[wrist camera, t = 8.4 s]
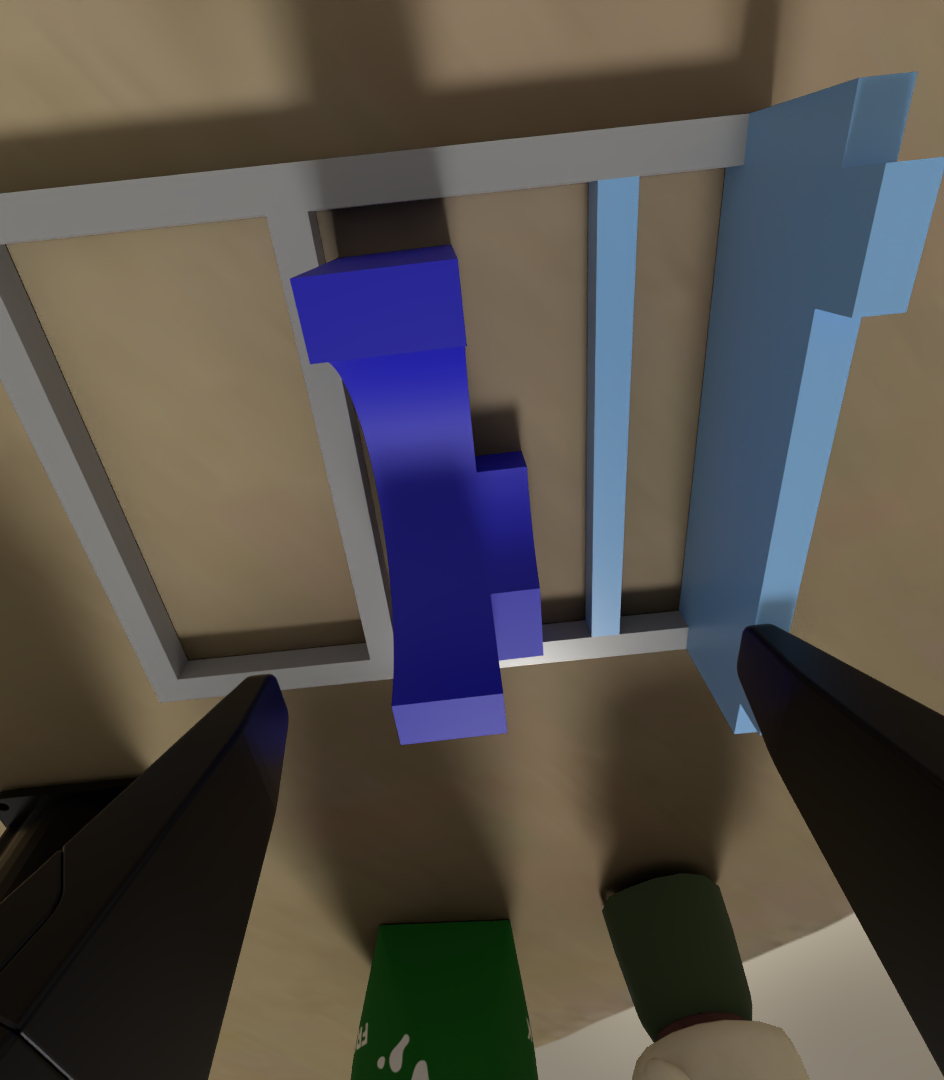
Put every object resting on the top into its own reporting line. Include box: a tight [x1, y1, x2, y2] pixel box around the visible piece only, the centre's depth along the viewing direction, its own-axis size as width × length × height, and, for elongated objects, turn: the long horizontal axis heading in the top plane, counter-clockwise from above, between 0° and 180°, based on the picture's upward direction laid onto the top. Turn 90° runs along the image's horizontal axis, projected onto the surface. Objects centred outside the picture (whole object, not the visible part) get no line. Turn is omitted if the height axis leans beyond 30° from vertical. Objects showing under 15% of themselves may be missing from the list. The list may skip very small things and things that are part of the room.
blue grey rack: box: [0, 72, 944, 735], centre depth 15 cm, size 20×16×6 cm
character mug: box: [602, 873, 810, 1080], centre depth 25 cm, size 11×7×13 cm, turn 44°
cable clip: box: [290, 245, 544, 745], centre depth 16 cm, size 12×4×6 cm, turn 6°
